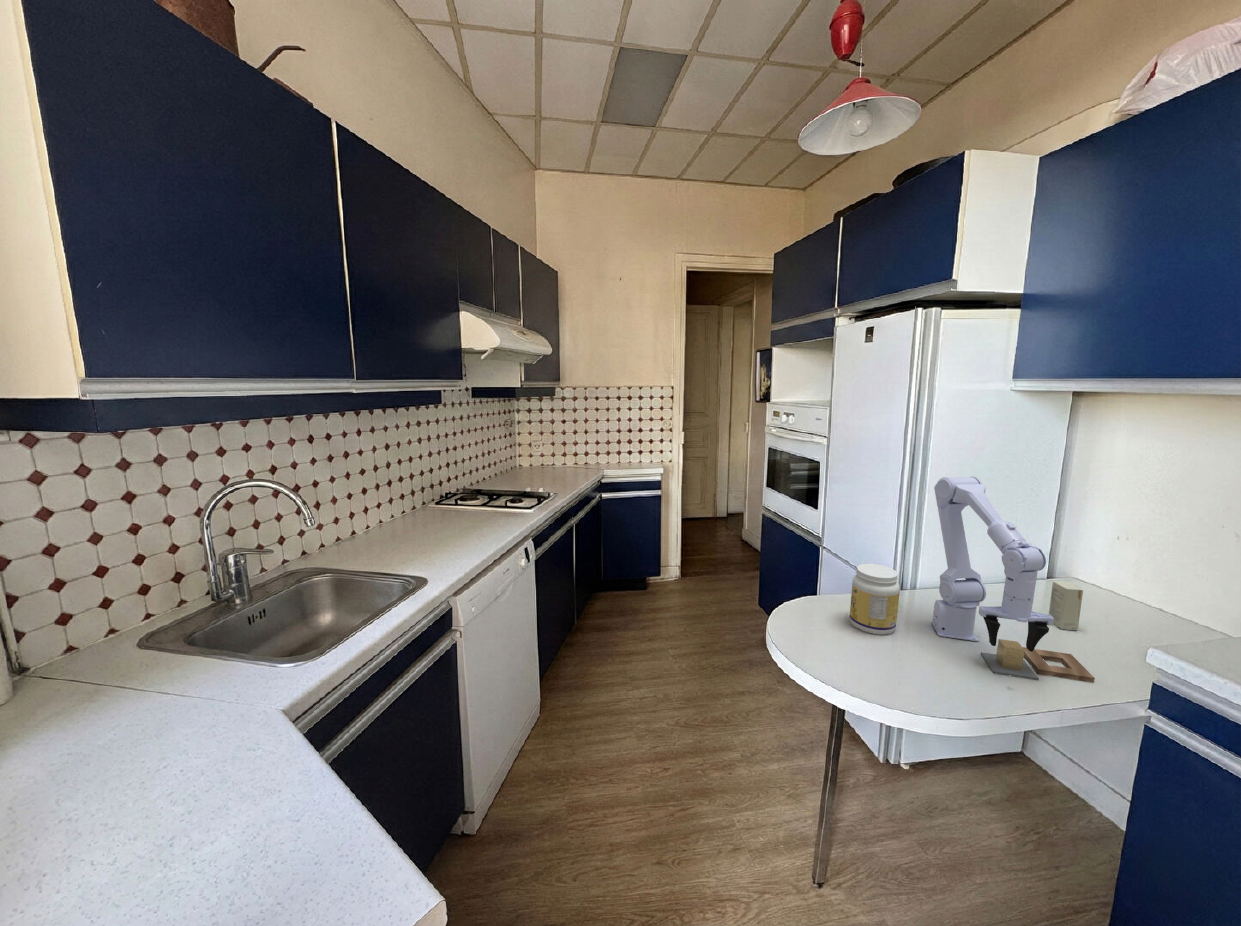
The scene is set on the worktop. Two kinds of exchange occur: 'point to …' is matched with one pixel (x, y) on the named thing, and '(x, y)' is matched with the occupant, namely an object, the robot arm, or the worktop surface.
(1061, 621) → the skincare box
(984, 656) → the charcoal mat
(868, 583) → the supplement tub
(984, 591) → the robot arm
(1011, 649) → the brass plug
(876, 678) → the worktop surface
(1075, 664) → the walnut square frame
